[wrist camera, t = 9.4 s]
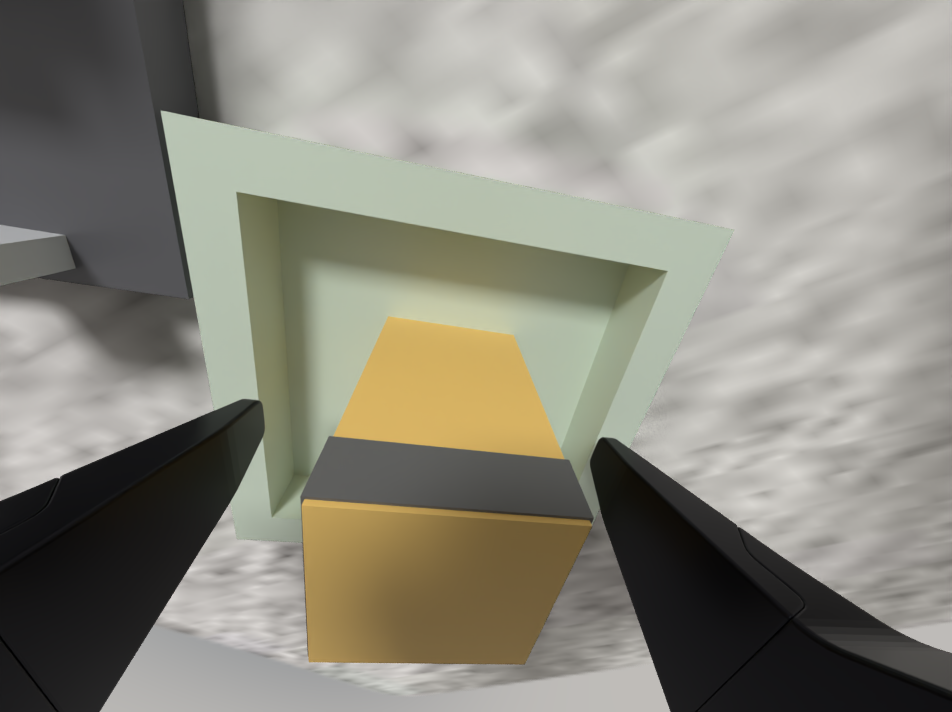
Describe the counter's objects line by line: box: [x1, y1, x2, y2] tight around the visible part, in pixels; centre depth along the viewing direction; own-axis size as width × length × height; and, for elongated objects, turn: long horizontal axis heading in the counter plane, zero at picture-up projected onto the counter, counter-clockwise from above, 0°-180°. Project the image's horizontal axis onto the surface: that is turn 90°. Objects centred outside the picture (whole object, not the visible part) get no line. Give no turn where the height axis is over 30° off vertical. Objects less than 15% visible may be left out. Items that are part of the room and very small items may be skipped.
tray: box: [161, 111, 734, 543], centre depth 11 cm, size 12×12×2 cm
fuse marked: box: [300, 316, 594, 665], centre depth 9 cm, size 4×4×7 cm
